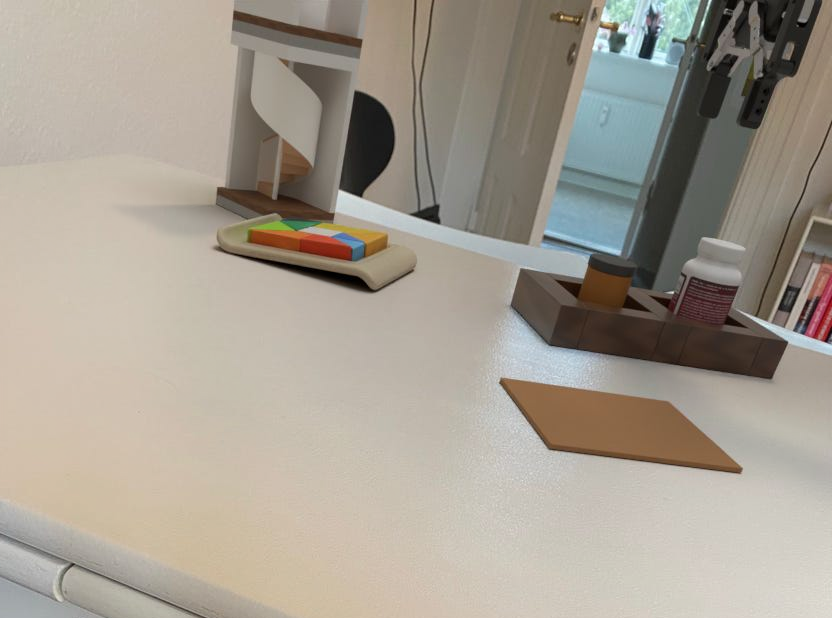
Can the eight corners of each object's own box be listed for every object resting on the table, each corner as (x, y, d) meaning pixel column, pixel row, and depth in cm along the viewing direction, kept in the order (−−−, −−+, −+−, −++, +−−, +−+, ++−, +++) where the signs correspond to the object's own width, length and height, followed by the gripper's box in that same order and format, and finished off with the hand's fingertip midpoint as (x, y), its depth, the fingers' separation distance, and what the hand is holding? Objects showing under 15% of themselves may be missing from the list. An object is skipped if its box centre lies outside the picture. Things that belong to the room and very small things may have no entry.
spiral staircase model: (215, 203, 118) (247, -142, 99) (280, 207, 125) (322, -117, 105) (266, 227, 112) (311, -137, 92) (332, 229, 119) (386, -110, 99)
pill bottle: (723, 358, 100) (766, 253, 94) (683, 357, 97) (725, 249, 91) (684, 339, 104) (723, 237, 98) (644, 337, 101) (682, 232, 95)
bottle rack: (711, 336, 108) (725, 302, 106) (772, 379, 96) (789, 341, 94) (510, 304, 102) (520, 267, 100) (549, 345, 91) (561, 304, 89)
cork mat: (666, 405, 81) (668, 401, 81) (741, 473, 70) (743, 468, 70) (499, 381, 78) (500, 377, 78) (549, 448, 67) (551, 443, 66)
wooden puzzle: (275, 229, 112) (279, 199, 110) (418, 269, 109) (424, 238, 107) (210, 248, 98) (213, 213, 96) (372, 294, 95) (379, 259, 93)
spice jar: (602, 329, 101) (626, 258, 96) (619, 343, 97) (645, 270, 92) (561, 322, 100) (583, 250, 95) (576, 337, 96) (600, 262, 91)
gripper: (885, -80, 75) (796, 139, 84) (794, -72, 86) (724, 120, 95) (807, -102, 73) (725, 124, 82) (725, -91, 85) (660, 106, 94)
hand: (725, 122), depth 89 cm, fingers open, 8 cm apart
